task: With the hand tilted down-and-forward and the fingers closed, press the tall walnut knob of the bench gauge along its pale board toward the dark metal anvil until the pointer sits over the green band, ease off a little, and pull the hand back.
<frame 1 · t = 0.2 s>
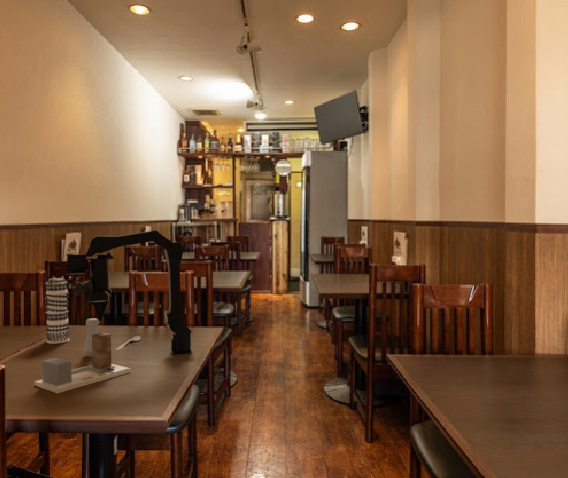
hand: (101, 318, 172), 14 cm above the table, tool pointing down, fingers open, 9 cm apart
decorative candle: (58, 341, 201), on the table
salt shaker: (92, 356, 179), on the table
gauge slider: (104, 352, 155), point 7 cm above the table, slide at 0.0 cm
gauge board: (84, 378, 152), on the table
spoon: (126, 346, 194), on the table
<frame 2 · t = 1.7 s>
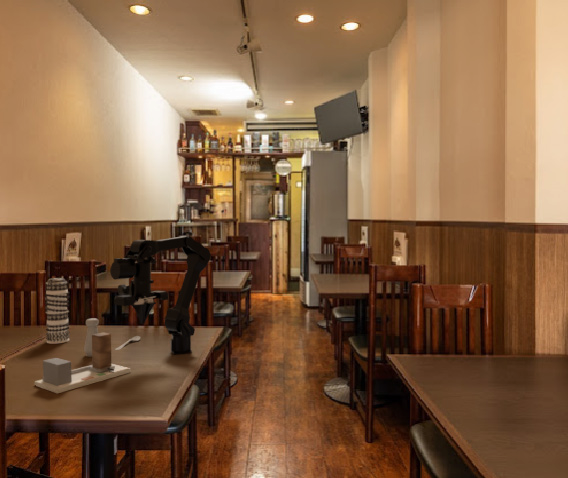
hand: (142, 323, 170), 13 cm above the table, tool pointing down, fingers closed
nothing on the table moved.
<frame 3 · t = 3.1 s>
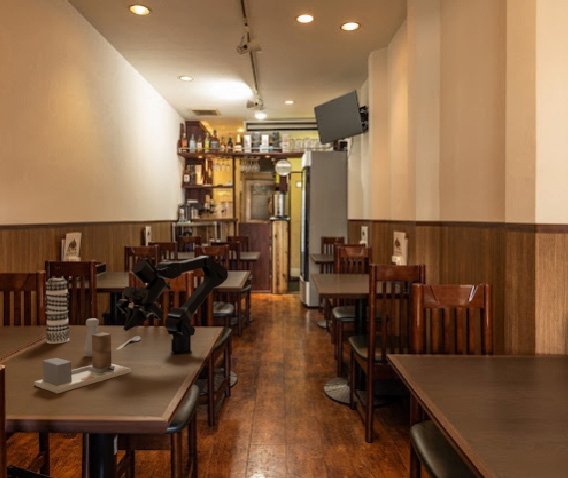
hand: (124, 330, 163), 12 cm above the table, tool tilted 45°, fingers closed
nothing on the table moved.
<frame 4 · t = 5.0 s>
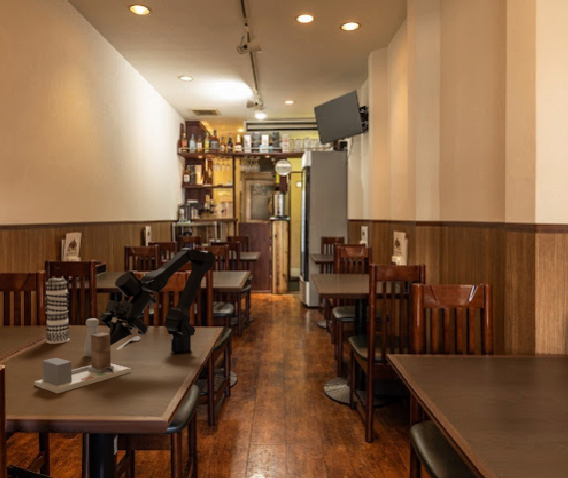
hand: (107, 345, 158), 8 cm above the table, tool tilted 45°, fingers closed, pressing on gauge slider
gauge slider: (103, 352, 155), point 7 cm above the table, slide at 0.3 cm, touching gripper
everything else where it was.
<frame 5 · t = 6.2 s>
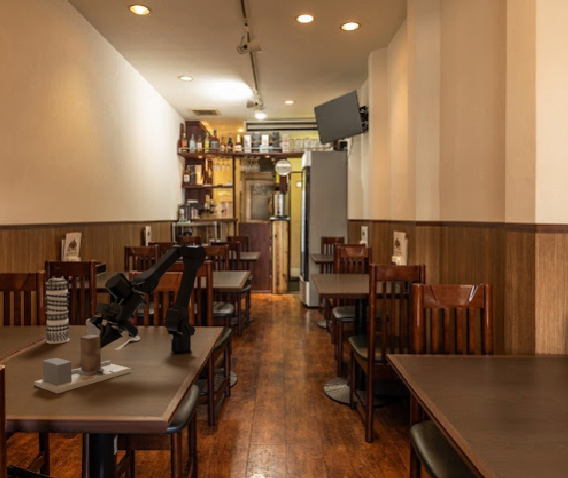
hand: (97, 348, 155), 8 cm above the table, tool tilted 45°, fingers closed
gauge slider: (93, 354, 152), point 7 cm above the table, slide at 3.8 cm
everything else where it was.
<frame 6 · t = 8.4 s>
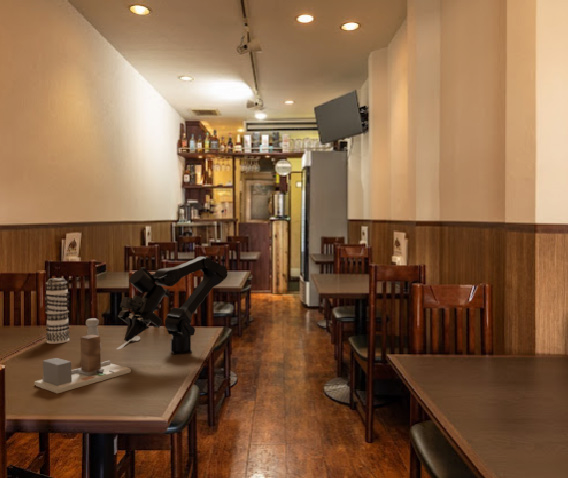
hand: (125, 340, 164), 8 cm above the table, tool tilted 40°, fingers closed
nothing on the table moved.
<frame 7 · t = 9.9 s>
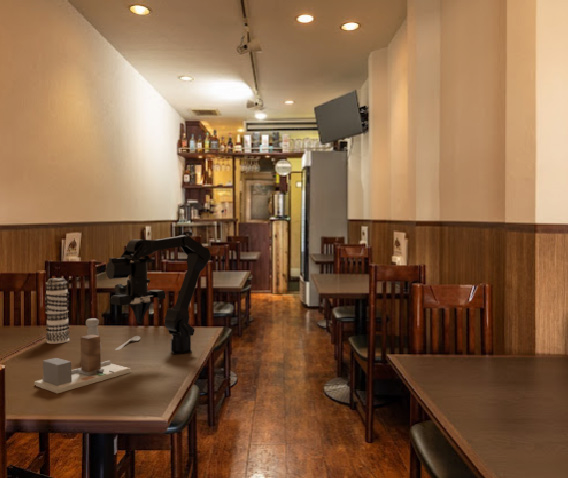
hand: (139, 322, 170), 13 cm above the table, tool pointing down, fingers closed
nothing on the table moved.
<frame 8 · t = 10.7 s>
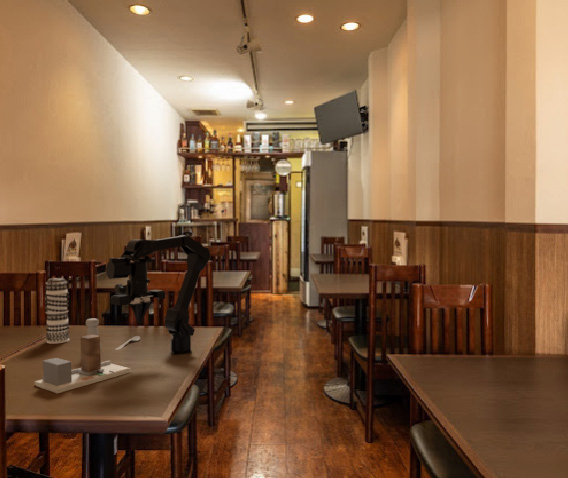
hand: (139, 322, 170), 13 cm above the table, tool pointing down, fingers closed
nothing on the table moved.
at the end: gauge slider slide at 3.8 cm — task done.
